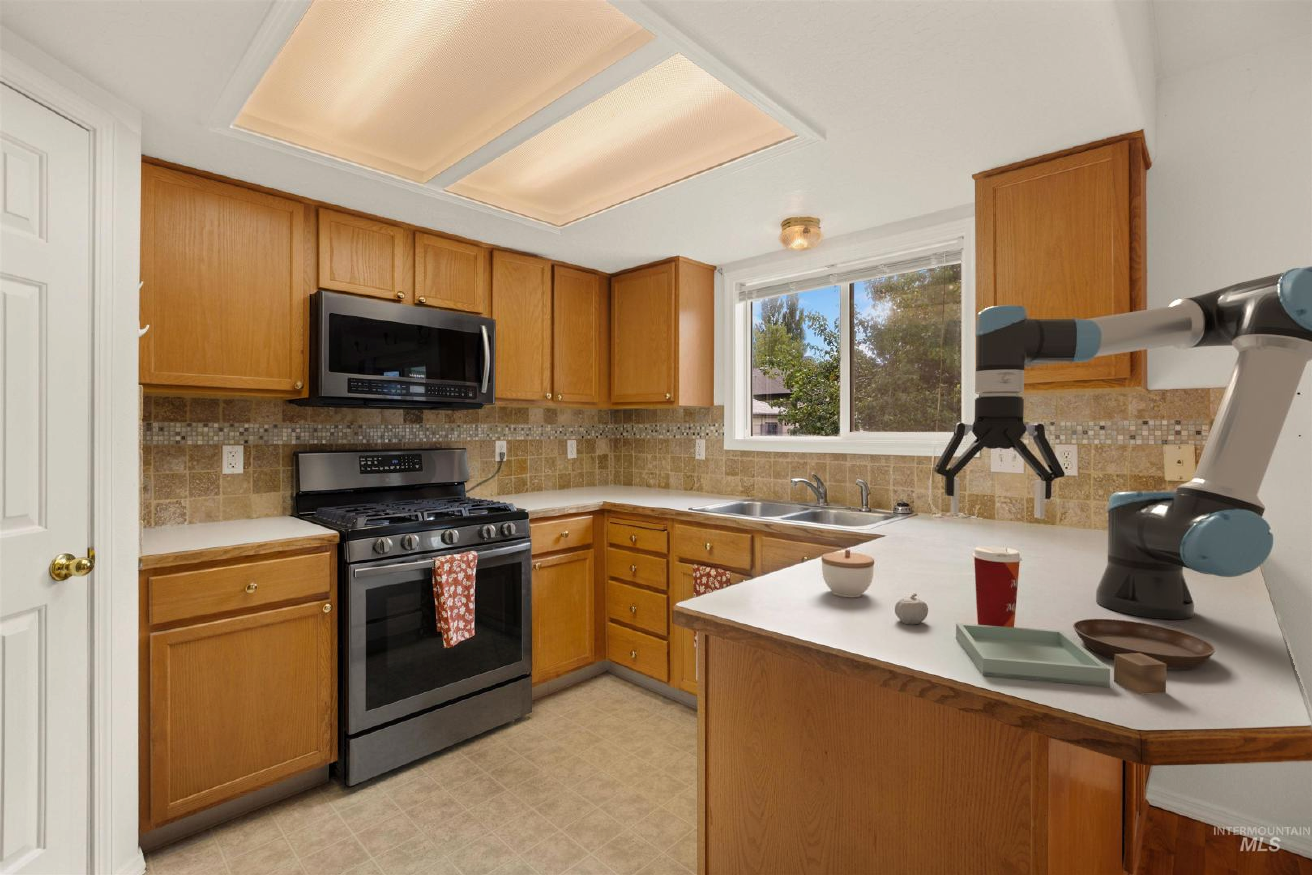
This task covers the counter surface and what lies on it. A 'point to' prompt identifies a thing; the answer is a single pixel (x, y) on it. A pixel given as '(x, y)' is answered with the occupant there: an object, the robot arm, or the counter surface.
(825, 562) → the lidded jar
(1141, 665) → the walnut block
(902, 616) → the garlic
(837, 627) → the counter surface
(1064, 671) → the tray
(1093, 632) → the plant saucer
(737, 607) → the counter surface
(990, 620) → the paper cup
